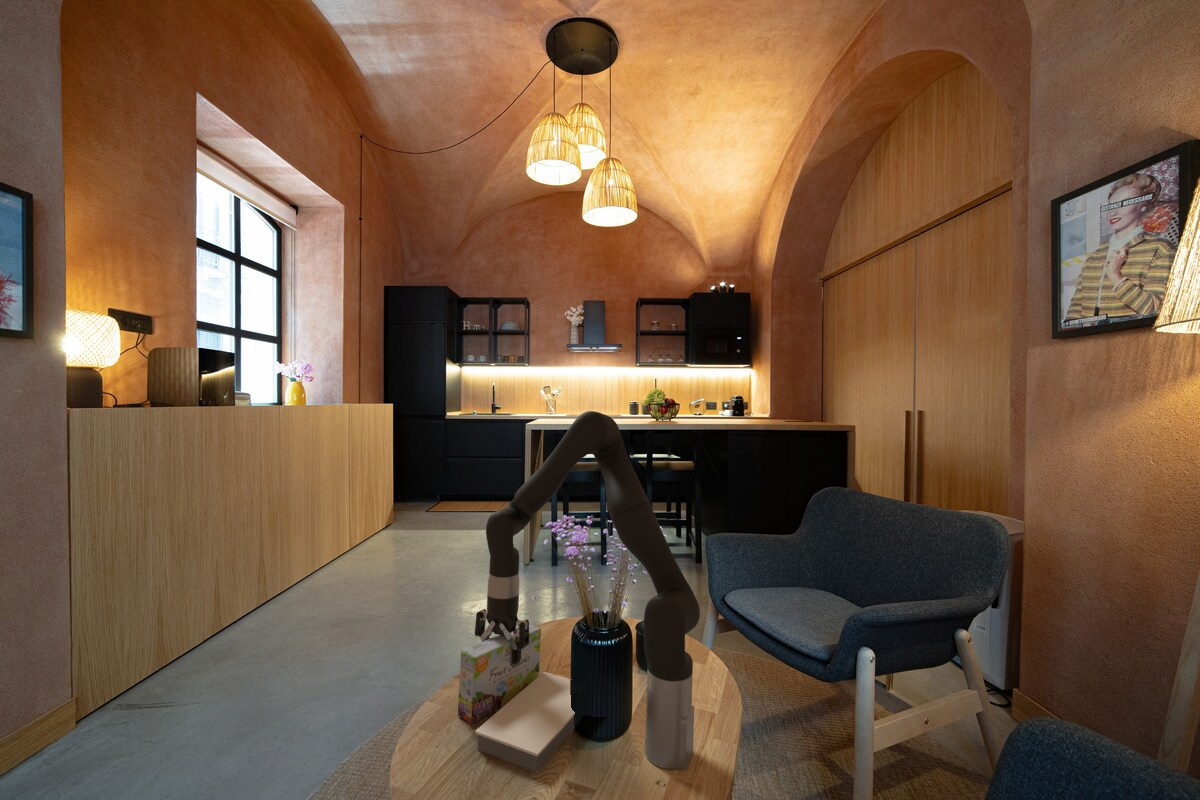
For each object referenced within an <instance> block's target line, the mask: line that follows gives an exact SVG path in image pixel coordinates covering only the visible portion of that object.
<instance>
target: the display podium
mask: <svg viewBox="0 0 1200 800" xmlns="http://www.w3.org/2000/svg"><path fill="white" fill-rule="evenodd" d="M570 679H571V678H567V677H563V676H561V675H560V676H559V675H556V674H553V673H549V672H545V671H543V672H542V673H541V674H539V677H537V678H536V679H535V680H534V681H533V682H532V683H530V684H529V685H528V686H527V687H526V688H525V689H523V690H522V691H521V692H520V693H519V694H518V695H516V696H515V697H514V698H513V699H512V700H511V701H509V702H508V703H507V704H506V705H504V706H503V707H501V708H499V709H498V710H497V712H496V713H495V714H493V715H492V716H491V717H490V718H488V719H487V720H486V721H485V722H484V723H483V724H481V725H480V727H478V728H477V729H476V730H474V734H475V735H478V736H477V740H478V741H477V751H479V752H482V753H485V754H486V755H489V756H492V757H495V758H497V759H500V760H503V761H505V762H508V763H510V764H513V765H515V766H517V767H521V768H523V769H526V770H528V771H531V772H534V773H537V772H538V771H539V770H540V769H541V768H542V767H543V766H544V764H545V763H546V762H547V760H548V759H550V758H551V757H552V755H553V754H554V752H555V751H556V750H557V749H558V748H559V747H560V745H561V744H562V743H563V742H564V740H566V738H567V737H569V735H570V734H571V732H573V731H574V729H575V728H576V727H574V715H575V712H574V711H573V710H572V708H571V695H570Z"/></svg>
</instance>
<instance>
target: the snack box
mask: <svg viewBox="0 0 1200 800" xmlns="http://www.w3.org/2000/svg"><path fill="white" fill-rule="evenodd" d="M516 627H517V629H518V626H516ZM518 631H519V630H518ZM510 634H511V635H513V631H512V633H510ZM541 637H542V628H541V627H538V626H536V625H533V624H531V623H529V645H527V646H526V647H524V648H523V649H521V660H520V661H519V662H518V663H517V664H516V665H513V664H512V649H513V647H512V645H511V643H510V642H509V641H508V640H507V638H506V636H505V637H504V636H501V635H500V634H496V635H495V636H492V637H489V638H490V639H488V640H485V641H483V642H482V641H481V642H478V643H477V644H473V645H471V646H470V647H467V648H465V649H464V648H463V649H462V650H461V652H460V662H459V663H460V666H459V686H458V688H459V689H458V702H457V704H458V705H457V716H458V717H460V718H462V719H463V720H464V721H466V722H467V723H468V724H470V725H473V724H475V723H476V722H477V721H479V720H481V719H483V718H485V717H486V716H488V715H490V714H492V713H494V712H495V711H498V710H500V709H501V708H502V707H504V706H505V705H506V704H507V703H508V702H509V701H511V700H512V699H513V698H514V697H515V696H516V695H518V694H519V693H520V692H521V691H522V690H523V689H525V688H526V687H527V686H528V685H529V684H530V683H532V682H533V681H534V680H535V679H536V678H537V677H539V676H540V657H541V641H542V639H541ZM515 641H516V640H515ZM516 643H517V642H516Z"/></svg>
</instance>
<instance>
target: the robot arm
mask: <svg viewBox="0 0 1200 800" xmlns="http://www.w3.org/2000/svg"><path fill="white" fill-rule="evenodd" d="M590 453H592V455H593V457H594V459H595V460H596V463H597V464H598V467H599V470H600V472H601V474H602V477H603V480H604V485H605V487H604V488H605V494H606V495H605V497H606V505H607V510H608V513H609V516H610V519H611V522H612V524H613V526H614V528H615V531H616V533H617V536H618V537H619V539H620V542H621V543H622V544H623V545H624V547H625V548H626V549H627V550H628V551H629V552H630V554H632V555H633V556H634V557H635V559H636V560H637V561H638V562H639V563H641V565H642V566H643V568H644V569H645V570H646V571H647V573H648V575H649V577H650V579H651V581H652V583H653V587H654V588H655V591H656V593H657V594H656V595H655V596H653V597H651V598H650V599H649V600H648V602H647V603H646V605H645V609H644V613H643V614H644V615H643V647H644V648H643V650H644V656H645V659H646V661H647V672H646V673H647V674H646V675H647V676H646V705H645V706H646V708H645V709H646V710H645V714H646V715H645V739H644V742H645V743H644V745H645V747H644V751H645V752H644V753H645V756H646V758H647V759H648V760H649V762H650V763H652V764H653V765H655V766H656V767H659V768H662V769H668V770H676V769H682V770H686V769H687V766H688V765H689V762H690V760H691V758H692V756H693V753H694V737H695V736H694V735H695V734H694V731H695V729H694V728H695V727H694V726H695V706H694V705H692V704H693V703H692V702H693V669H694V668H693V666H694V665H693V664H694V662H693V658H692V656H691V655H690V654H689V653H688V652H687V651H686V635H687V634H688V633H690V632H691V631H692V630H693V629H694V628H696V626H697V625H698V623H699V620H700V617H701V610H700V605H699V601H698V600H697V597H696V595H695V594H694V591H693V590H692V588H691V586H690V585H689V583H688V581H687V579H686V577H685V576H684V574H683V572H682V570H681V568H680V566H679V565H678V563H677V561H676V559H675V557H674V555H673V553H672V550H671V547H670V545H669V544H668V541H667V539H666V537H665V535H664V532H663V531H662V529H661V526H660V523H659V521H658V519H657V518H658V517H657V516H656V513H655V511H654V510H653V508H652V505H651V503H650V501H649V498H648V496H647V495H646V493H645V491H644V488H643V486H642V484H641V481H640V479H639V477H638V476H637V473H636V472H635V470H634V467H633V466H632V465H633V464H632V463H631V461H630V457H629V455H628V453H627V450H626V447H625V443H624V440H623V436H622V434H621V431H620V428H619V425H618V424H617V422H616V421H615V420H614V419H613V418H612V417H611V416H610V415H607V414H605V413H603V412H599V411H593V410H588V411H585V412H582V413H581V414H580V415H578V416H577V417H576V419H575V420H574V421H573V422H572V424H571V425H570V427H569V428H568V429H567V431H566V432H565V434H564V435H563V437H562V438H561V440H560V441H559V442H558V444H557V445H556V447H554V449H553V451H552V452H551V453H550V455H549V456H547V458H546V460H545V461H544V462H543V463H542V464H541V465H540V466H539V468H538V469H537V470H536V471H535V472H534V473H533V474H532V475H531V476H530V477H529V478H527V480H526V481H525V482H524V483H522V485H521V487H519V488H518V490H517V491H516V492H515V494H514V498H513V499H512V500H511V501H510V502H509V503H508V504H507V505H506V506H505V507H504V508H502V509H499V510H496V511H494V512H493V513H491V514H490V515H489V517H488V519H487V521H486V528H485V536H486V542H487V547H488V552H489V573H488V580H487V593H486V597H487V598H486V608H483V609H481V610H479V611H477V612H476V615H475V625H474V635H475V637H479V638H480V640H481V642H483V641H485V640H488V639H490V638H491V636H492V635H501V636H504V637H505V636H506V638H507V640H508V641H509V642H510V643H511V645H512V647H513V649H512V664H513V665H516V664H517V663H518V662H519V661H520V660H521V649H523V648H524V647H526V646H527V645H529V624H530V621H529V619H524V620H520V619H519V618H518V613H519V603H520V601H519V600H520V572H519V571H520V552H519V550H518V549H517V548H516V547H514V537H515V536H516V535H518V534H519V533H520V532H521V531H523V530H524V529H525V528H526V526H527V525H528V524H529V523H530V522H531V520H532V519H534V516H535V515H536V513H538V512H539V511H540V510H542V508H543V507H544V506H545V505H546V504H547V503H548V502H549V501H550V500H551V499H552V498H553V497H554V496H555V494H557V493H558V491H559V490H560V488H561V486H562V484H563V483H564V482H565V480H566V477H567V475H569V473H570V471H571V470H572V469H573V468H574V466H575V465H577V463H578V462H579V461H581V460H582V459H583V458H585V457H587V455H588V454H590ZM486 622H487V623H488V626H487V627H486V624H487V623H486ZM517 627H518V629H517ZM518 630H519V631H518ZM512 631H513V635H511V634H510V633H512ZM515 640H516V641H515ZM516 642H517V643H516Z"/></svg>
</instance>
